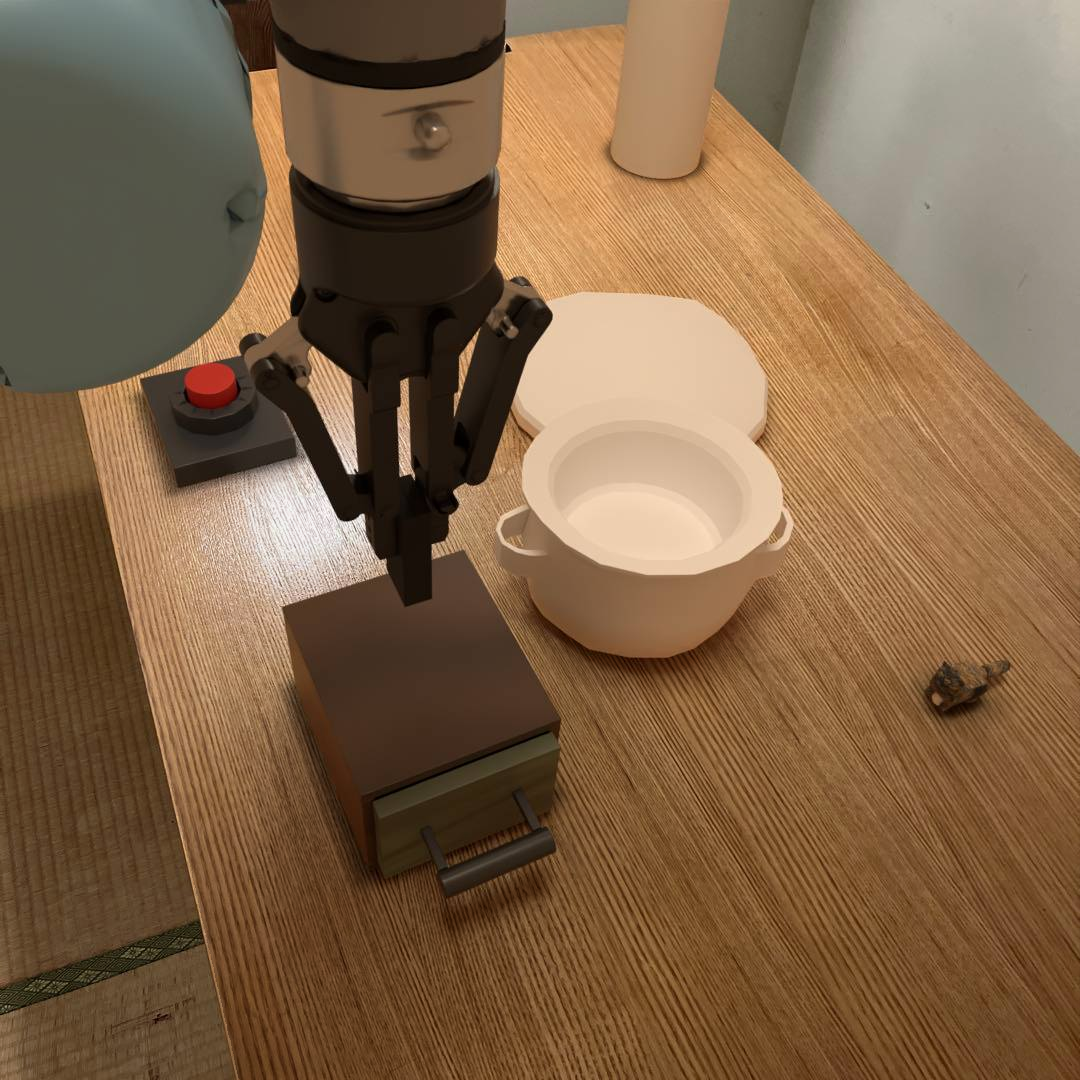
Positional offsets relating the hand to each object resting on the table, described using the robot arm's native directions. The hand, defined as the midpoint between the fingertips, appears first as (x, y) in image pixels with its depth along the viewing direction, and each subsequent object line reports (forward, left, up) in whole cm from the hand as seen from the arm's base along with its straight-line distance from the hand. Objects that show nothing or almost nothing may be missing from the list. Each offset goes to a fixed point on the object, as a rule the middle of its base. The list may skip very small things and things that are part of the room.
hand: (409, 583), depth 56 cm
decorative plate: (+33, +30, -21) cm, 50 cm away
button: (-3, +39, -17) cm, 43 cm away
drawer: (+1, -1, -20) cm, 20 cm away
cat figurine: (+39, -9, -21) cm, 46 cm away
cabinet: (+1, +3, -21) cm, 21 cm away
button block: (-3, +39, -21) cm, 44 cm away
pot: (+21, +9, -21) cm, 31 cm away
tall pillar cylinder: (+57, +67, -21) cm, 91 cm away
